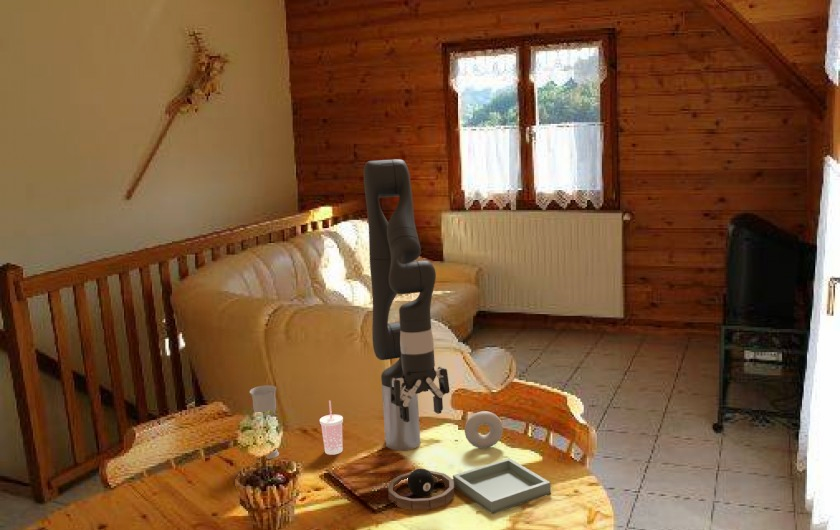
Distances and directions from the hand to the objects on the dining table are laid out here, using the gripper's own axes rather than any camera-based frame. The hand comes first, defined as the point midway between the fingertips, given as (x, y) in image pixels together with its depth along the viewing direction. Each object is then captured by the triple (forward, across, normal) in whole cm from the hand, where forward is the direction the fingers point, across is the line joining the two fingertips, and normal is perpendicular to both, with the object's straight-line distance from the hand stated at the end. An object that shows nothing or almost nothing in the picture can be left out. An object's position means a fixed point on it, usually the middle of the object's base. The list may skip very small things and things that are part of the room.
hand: (421, 417), depth 187 cm
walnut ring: (+18, +2, +1) cm, 18 cm away
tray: (+18, -14, +11) cm, 25 cm away
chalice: (+16, +23, -42) cm, 51 cm away
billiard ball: (+18, +2, +1) cm, 18 cm away
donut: (+17, -24, -11) cm, 32 cm away
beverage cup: (+17, +8, -34) cm, 39 cm away
